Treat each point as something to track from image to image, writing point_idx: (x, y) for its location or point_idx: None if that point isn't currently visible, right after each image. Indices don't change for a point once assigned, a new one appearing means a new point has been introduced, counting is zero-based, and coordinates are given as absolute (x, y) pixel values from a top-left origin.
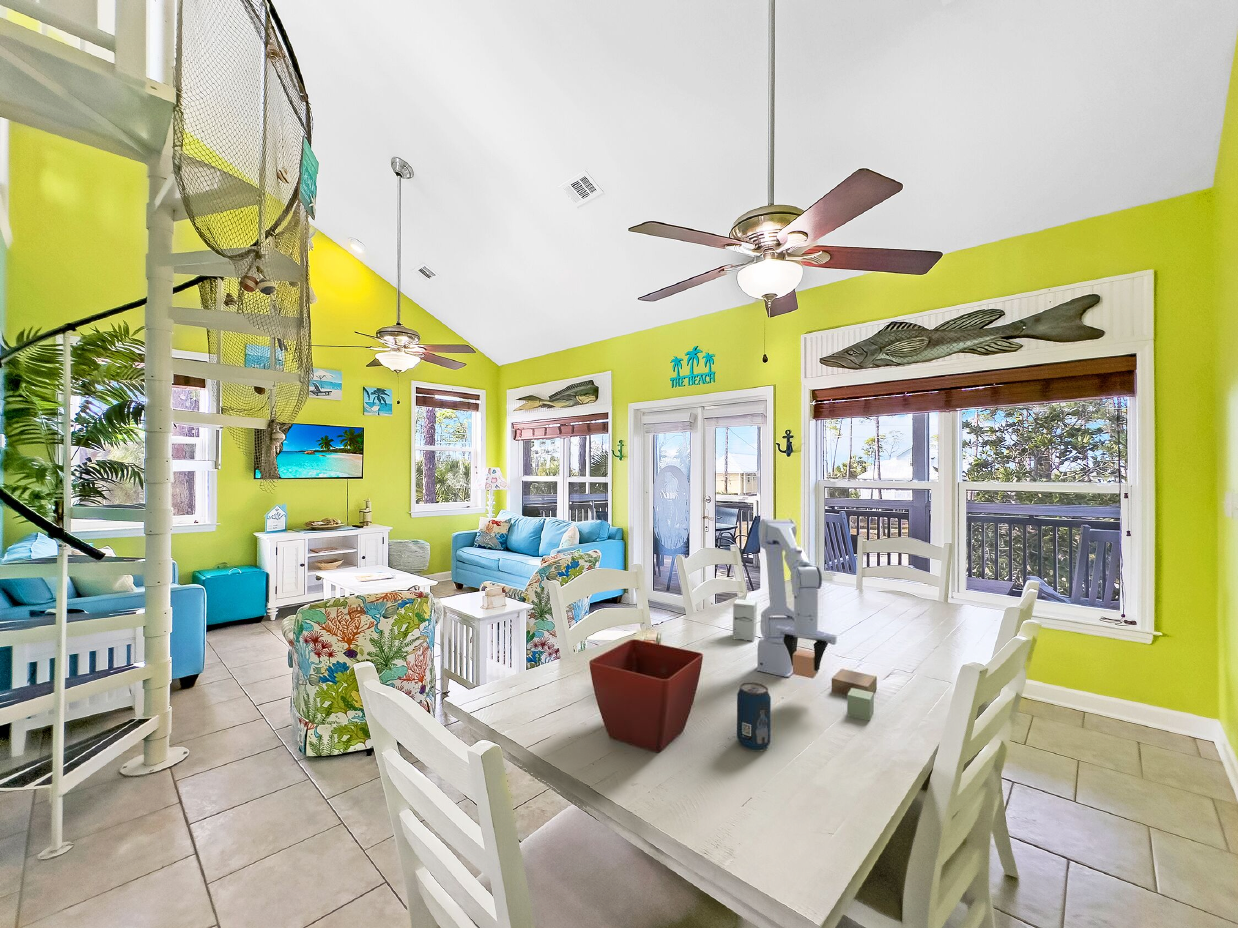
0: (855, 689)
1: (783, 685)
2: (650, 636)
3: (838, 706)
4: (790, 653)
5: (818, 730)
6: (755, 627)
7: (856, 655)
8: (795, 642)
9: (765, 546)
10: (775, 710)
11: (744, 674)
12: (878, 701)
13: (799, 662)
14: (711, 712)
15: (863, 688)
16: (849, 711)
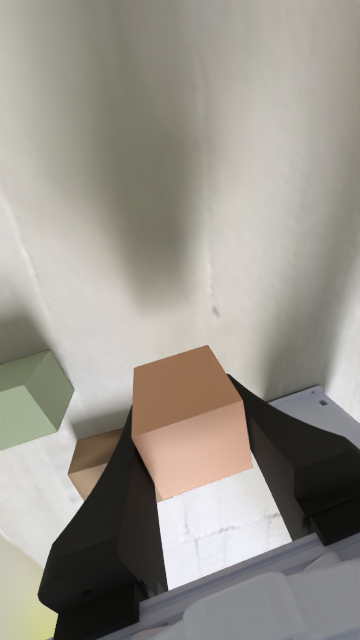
0: (42, 432)
1: (245, 370)
2: None
3: (98, 374)
4: (259, 404)
5: (20, 192)
6: None
7: (209, 546)
8: (279, 491)
9: None
10: (189, 222)
11: (334, 351)
12: (64, 455)
13: (196, 386)
14: (331, 15)
15: (80, 464)
16: (40, 357)
